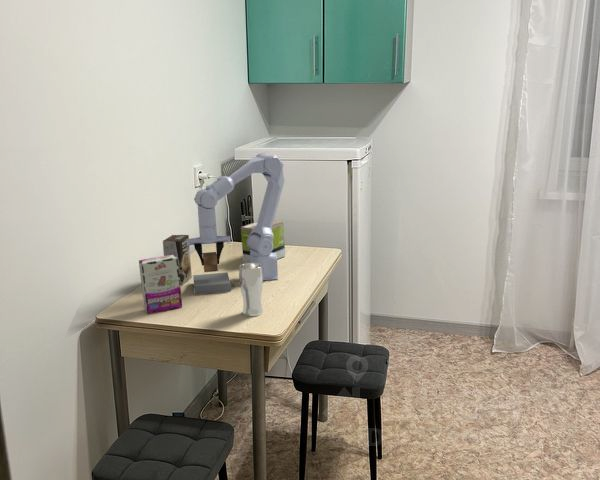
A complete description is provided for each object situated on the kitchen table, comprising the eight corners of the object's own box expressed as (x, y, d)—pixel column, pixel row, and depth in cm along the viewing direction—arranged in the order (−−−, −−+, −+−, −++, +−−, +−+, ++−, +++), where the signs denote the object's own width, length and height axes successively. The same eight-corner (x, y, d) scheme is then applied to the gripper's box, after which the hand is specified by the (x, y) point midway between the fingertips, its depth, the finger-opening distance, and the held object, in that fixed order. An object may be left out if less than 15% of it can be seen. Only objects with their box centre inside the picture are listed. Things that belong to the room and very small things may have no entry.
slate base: (228, 280, 209) (227, 272, 208) (230, 291, 198) (230, 283, 197) (193, 283, 207) (193, 275, 206) (194, 294, 196) (193, 286, 195)
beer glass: (241, 309, 182) (238, 263, 178) (263, 308, 182) (261, 261, 178) (241, 317, 175) (238, 269, 171) (264, 316, 176) (262, 268, 172)
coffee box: (182, 285, 205) (179, 241, 201) (165, 285, 206) (161, 240, 202) (192, 277, 214) (189, 234, 209) (176, 276, 215) (172, 234, 211)
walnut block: (217, 267, 203) (216, 251, 201) (217, 271, 199) (216, 255, 197) (203, 268, 202) (202, 252, 201) (204, 272, 198) (203, 256, 196)
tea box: (266, 253, 242) (264, 218, 238) (285, 256, 236) (284, 221, 232) (242, 262, 230) (240, 225, 226) (262, 266, 224) (260, 228, 220)
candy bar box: (178, 302, 189) (173, 253, 185) (182, 307, 185) (178, 257, 180) (143, 309, 184) (138, 259, 180) (147, 314, 180) (141, 263, 176)
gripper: (185, 229, 192) (188, 269, 195) (230, 226, 194) (232, 265, 198) (185, 224, 198) (188, 263, 202) (228, 221, 201) (230, 259, 204)
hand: (210, 264), depth 200 cm, fingers closed on walnut block, 4 cm apart
